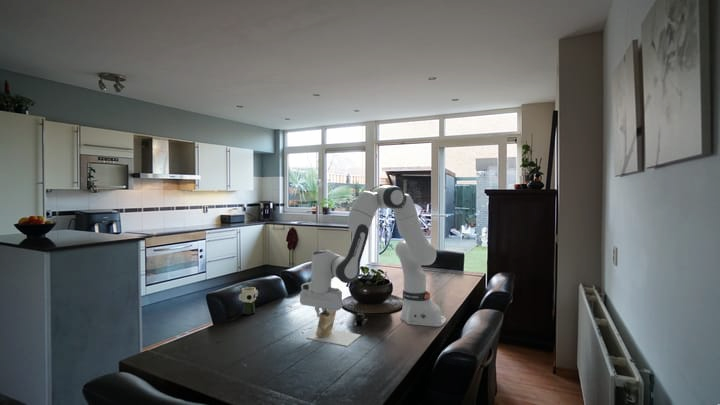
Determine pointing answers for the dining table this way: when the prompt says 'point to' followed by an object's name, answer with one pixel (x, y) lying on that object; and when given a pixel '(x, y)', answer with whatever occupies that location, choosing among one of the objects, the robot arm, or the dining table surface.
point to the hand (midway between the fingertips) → (320, 317)
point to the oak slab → (325, 323)
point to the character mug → (248, 299)
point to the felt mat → (336, 338)
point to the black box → (360, 319)
